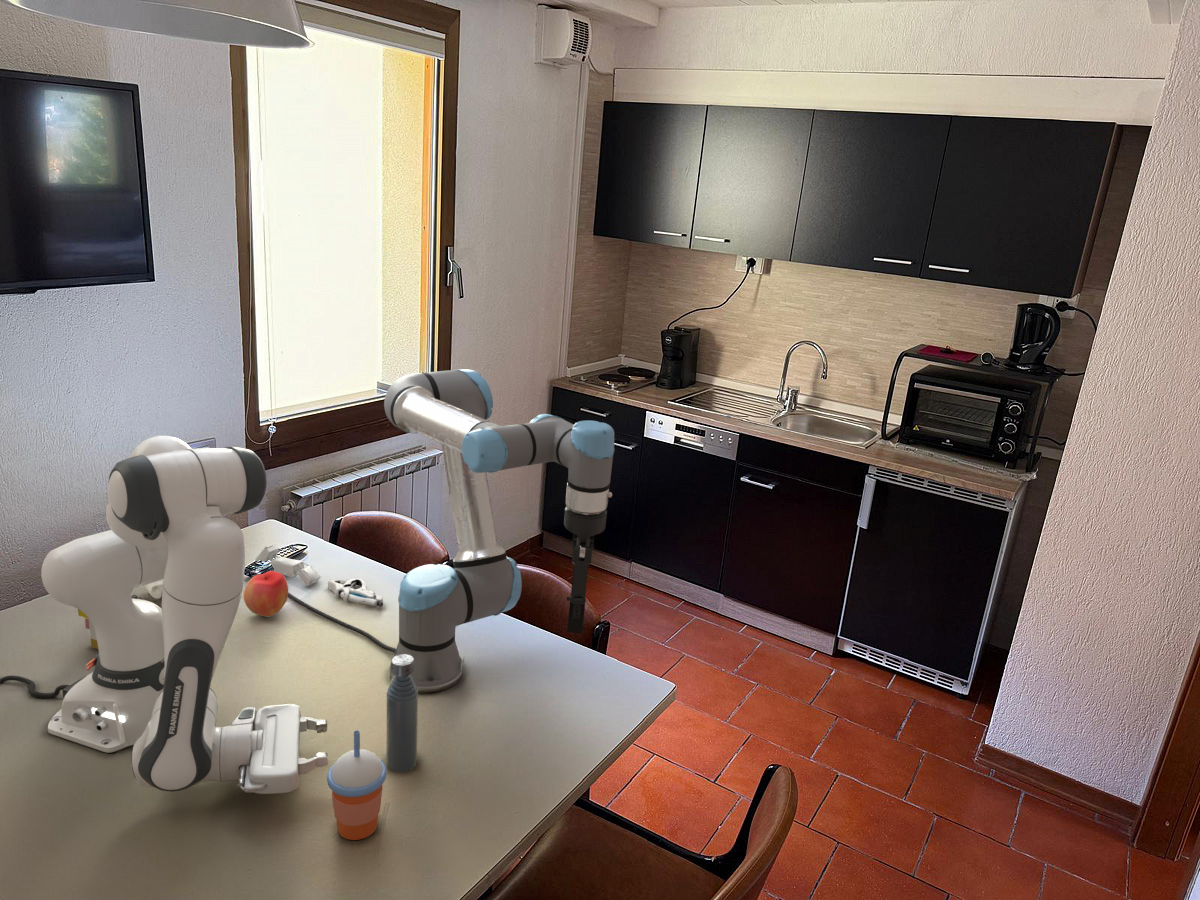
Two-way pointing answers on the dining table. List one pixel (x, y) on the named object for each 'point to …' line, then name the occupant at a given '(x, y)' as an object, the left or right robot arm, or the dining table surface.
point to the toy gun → (355, 592)
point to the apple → (266, 593)
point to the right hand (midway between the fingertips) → (576, 613)
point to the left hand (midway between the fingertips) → (327, 741)
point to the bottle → (402, 724)
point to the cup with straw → (357, 791)
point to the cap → (402, 665)
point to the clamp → (288, 565)
